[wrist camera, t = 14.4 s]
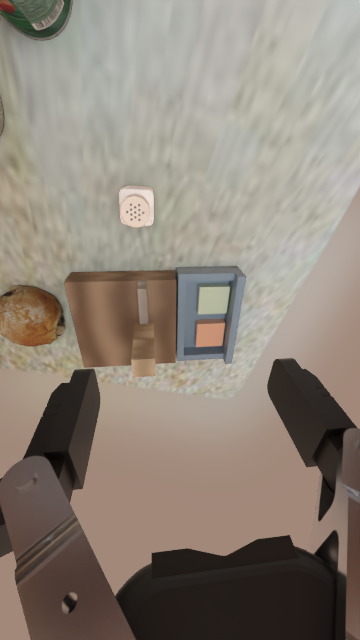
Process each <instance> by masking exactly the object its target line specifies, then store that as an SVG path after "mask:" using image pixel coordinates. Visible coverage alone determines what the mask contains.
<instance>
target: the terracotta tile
mask: <svg viewBox="0 0 360 640" xmlns="http://www.w3.org/2000/svg"><path fill="white" fill-rule="evenodd" d="M224 329H225V322H224V319H198V320H196V327H195V346H196V347H208V346H222V344H223V337H224Z"/></svg>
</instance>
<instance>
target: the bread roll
mask: <svg viewBox="0 0 360 640" xmlns="http://www.w3.org/2000/svg"><path fill="white" fill-rule="evenodd" d="M10 289H11V290H12V291H10V292H8V293H6V294H4V296H1V297H0V333H1V335H3V336H4V337H5V338H6V339H8V340H9V341H11V342H13V343H16V344H19V345H25V346H38V345H43V344H51V343H52V342H53V341H54V340H55V339H57V336H60V335H61V334H62V333H63V331H64V330H65V326H61V325H62V323H63V322H64V318H63V317H62V313H63V312H62V309H61V307H60V305H59V303H58V302H57V301H56V299H55V298H54V297H53V296H52V295H50V294H48V293H47V292H46V291H42V290H40V289H37V288H35V287H21V286H20V285H18V286H13V287H12V288H10Z"/></svg>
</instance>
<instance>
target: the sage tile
mask: <svg viewBox="0 0 360 640" xmlns="http://www.w3.org/2000/svg"><path fill="white" fill-rule="evenodd" d="M229 292H230V285H229V284H228V283H198V294H197V309H196V310H197V313H198V314H223V313H227V306H228V299H229Z"/></svg>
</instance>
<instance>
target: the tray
mask: <svg viewBox="0 0 360 640" xmlns="http://www.w3.org/2000/svg"><path fill="white" fill-rule="evenodd" d="M245 280H246V276H245V275H244V274H243V273H242V271H241V270H240V269H239V268H238V267H237V266H235V267H177V278H176V357H177V361H186V360H204V359H224V362H225V364H230V363H232V358H233V352H234V346H235V340H236V334H237V328H238V322H239V316H240V310H241V304H242V298H243V292H244V286H245ZM198 283H228V284H229V285H230V292H229V299H228V306H227V313H223V314H198V313H197V310H196V309H197V294H198ZM198 319H224V322H225V329H224V337H223V344H222V346H208V347H196V346H195V327H196V320H198Z"/></svg>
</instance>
